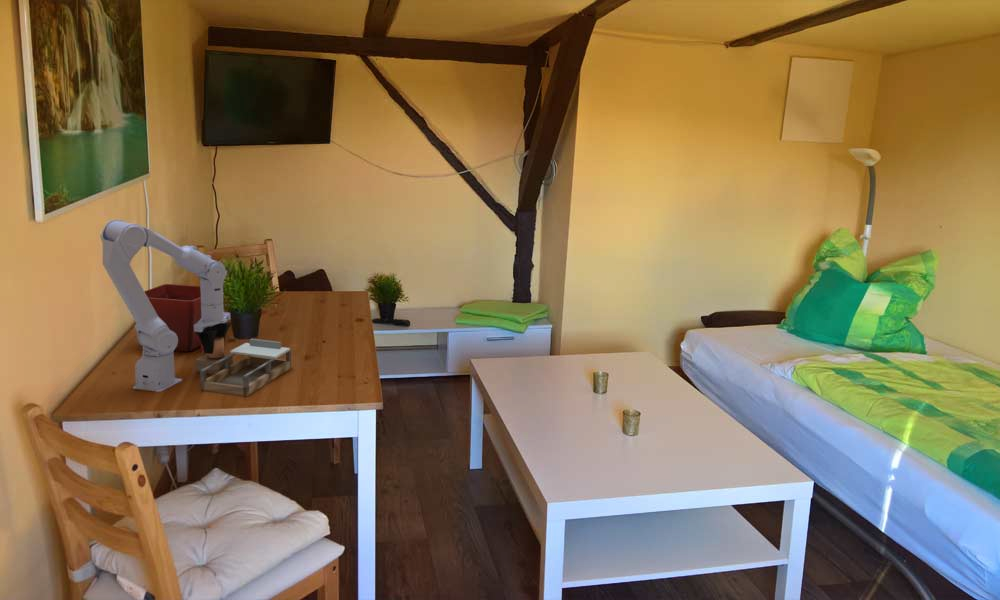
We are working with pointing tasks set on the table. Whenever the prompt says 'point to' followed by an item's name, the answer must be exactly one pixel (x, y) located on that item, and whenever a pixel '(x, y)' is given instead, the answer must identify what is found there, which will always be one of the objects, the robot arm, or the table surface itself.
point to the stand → (206, 362)
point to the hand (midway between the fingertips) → (213, 350)
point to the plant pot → (178, 311)
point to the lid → (261, 349)
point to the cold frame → (244, 374)
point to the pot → (217, 348)
